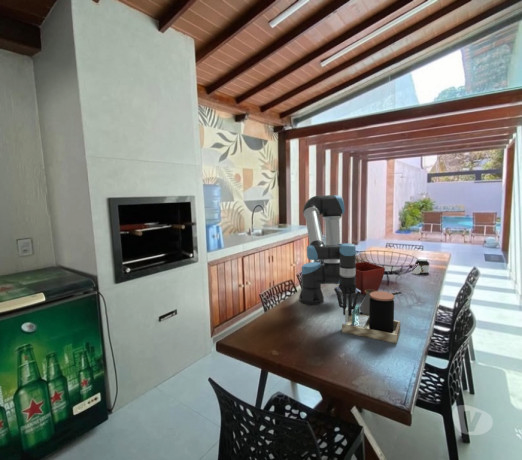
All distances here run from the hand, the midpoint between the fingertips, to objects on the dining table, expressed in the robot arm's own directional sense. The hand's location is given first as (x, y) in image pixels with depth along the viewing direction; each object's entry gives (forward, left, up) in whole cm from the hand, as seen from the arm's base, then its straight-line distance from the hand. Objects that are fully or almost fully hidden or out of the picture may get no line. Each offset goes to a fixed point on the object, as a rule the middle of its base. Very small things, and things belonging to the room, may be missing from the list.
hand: (347, 321), depth 149 cm
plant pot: (-4, +57, -3) cm, 57 cm away
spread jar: (+27, +116, -3) cm, 119 cm away
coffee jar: (+16, 0, -2) cm, 16 cm away
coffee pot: (+12, +20, -3) cm, 23 cm away
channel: (+11, 0, -3) cm, 12 cm away
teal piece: (+6, 0, -2) cm, 6 cm away
